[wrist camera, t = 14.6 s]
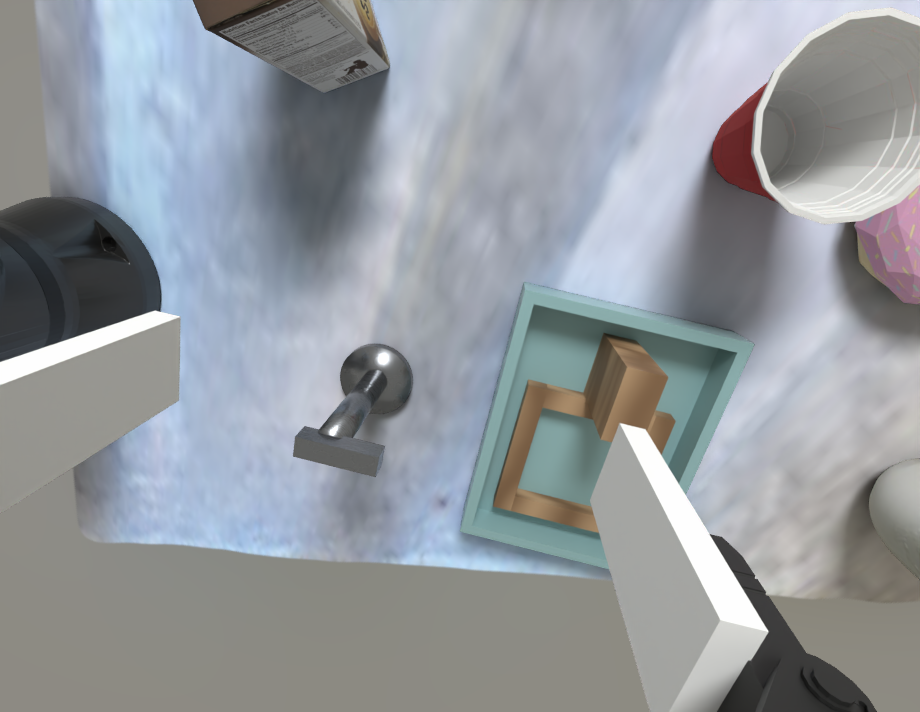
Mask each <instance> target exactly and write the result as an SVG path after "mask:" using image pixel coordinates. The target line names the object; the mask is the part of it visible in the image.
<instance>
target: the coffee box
mask: <svg viewBox="0 0 920 712" xmlns="http://www.w3.org/2000/svg"><path fill="white" fill-rule="evenodd" d="M193 2H194V4H195V7H196V9H197V12H198V14H199V16H200V19H201V21H202V23H203V26H204V28H205V29H206V30H208V31H210V32H212V33H214V34H216V35H218V36H220V37H222V38H223V39H225V40H227V41H229V42H231V43H233V44H234V45H236V46H238V47H240V48H242V49H244V50H246V51H247V52H249V53H251V54H253V55H255V56H257V57H258V58H260V59H262V60H264V61H266V62H268V63H270V64H271V65H273V66H275V67H277V68H279V69H281V70H282V71H284V72H286V73H288V74H290V75H291V76H293V77H295V78H297V79H299V80H300V81H302V82H304V83H306V84H308V85H310V86H311V87H313V88H315V89H317V90H319V91H321V92H322V93H326V92H328V91H331V90H334V89H336V88H339V87H342V86H344V85H347V84H350V83H352V82H355V81H357V80H360V79H363V78H365V77H368V76H371V75H373V74H376V73H378V72H381V71H383V70H386V69H388V68H389V67H390V62H389V58H388V55H387V51H386V48H385V45H384V42H383V38H382V35H381V32H380V29H379V25H378V22H377V19H376V16H375V13H374V9H373V6H372V3H371V0H193Z"/></svg>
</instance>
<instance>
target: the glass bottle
mask: <svg viewBox="0 0 920 712" xmlns="http://www.w3.org/2000/svg"><path fill="white" fill-rule="evenodd" d="M869 512H870V516H871V520H872V522H873V525H874V527H875V529H876V531H877V533H878V535H879V536H880V538H881V539H882V541H883V542H884V544H885V545H886V546H887V548H888V549H889V550H890V551H891V552H892V553H893V554H894V556H895V557H896V558H897V559H898V560H899V561H900V562H901V563H902V564H903V565H904V566H905V567H906V568H907V569H908V570H909V571H910V572H911V573H913V574H914V575H915V576H916V577H917V578H918V579H919V580H920V458H918V459H910V460H905V461H902V462H900V463H898V464H895V465H894V466H892V467H890V468H888V469H887V470H886V471H884V472H883V473H882V474H881V475H880V476H879V478H878V479H877V481H876V483H875V485H874V487H873V489H872V492H871V494H870V498H869Z"/></svg>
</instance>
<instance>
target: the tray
mask: <svg viewBox="0 0 920 712" xmlns="http://www.w3.org/2000/svg"><path fill="white" fill-rule="evenodd" d="M603 333H607V334H611V335H615V336H619V337H623V338H628V339H632V340H636V341H637V342H638V343H639V344H640V345H641V346H642V347H643V349H644V350H645V351H646V352H647V353H648V354H649V355H650V357H651V358H652V359H653V360H654V361H655V362H656V363H657V364H658V366H659V367H660V368H661V369H662V370H663V371H664V372H665V374H666V375H667V376H668V377H669V378H668V380H667V383H666V385H665V388H664V390H663V393H662V395H661V398H660V400H659V403H658V405H657V407H656V410H657V411H661V412H665V413H669V414H671V415H672V417H673V418H674V419H675V421H676V422H675V424H674V427H673V429H672V432H671V434H670V436H669V439H668V441H667V443H666V446H665V448H664V450H663V453H662V455H661V456H662V457H663V459H664V461H665V462H666V464H667V466H668V467H669V469H670V471H671V472H672V474H673V475H674V477H675V479H676V480H677V482H678V484H679V485H680V487H681V489H682V490H683V492H684V494H685V495H686V493H687V491H688V489H689V487H690V485H691V482H692V480H693V478H694V476H695V474H696V472H697V469H698V467H699V465H700V463H701V461H702V458H703V456H704V454H705V452H706V450H707V448H708V445H709V443H710V441H711V439H712V437H713V434H714V432H715V430H716V428H717V426H718V424H719V421H720V419H721V417H722V415H723V413H724V410H725V408H726V406H727V404H728V402H729V400H730V397H731V395H732V393H733V391H734V389H735V387H736V384H737V382H738V380H739V378H740V376H741V373H742V371H743V369H744V367H745V365H746V363H747V360H748V358H749V356H750V354H751V352H752V349H753V347H754V345H755V344H754V343H752V342H750V341H749V340H747V339H745V338H744V337H742V336H740V335H739V334H737V333H735V332H734V331H729V330H725V329H721V328H717V327H713V326H708V325H704V324H700V323H696V322H691V321H687V320H683V319H679V318H675V317H670V316H666V315H662V314H658V313H654V312H649V311H645V310H641V309H637V308H632V307H628V306H624V305H620V304H616V303H611V302H607V301H603V300H599V299H595V298H590V297H586V296H582V295H578V294H573V293H569V292H565V291H561V290H557V289H552V288H548V287H544V286H540V285H535V284H531V283H527V282H524V284H523V287H522V291H521V295H520V299H519V302H518V306H517V310H516V314H515V317H514V321H513V325H512V329H511V332H510V336H509V340H508V344H507V347H506V351H505V355H504V359H503V362H502V366H501V370H500V374H499V377H498V381H497V385H496V389H495V392H494V396H493V400H492V404H491V407H490V411H489V415H488V419H487V422H486V426H485V430H484V434H483V437H482V441H481V445H480V449H479V452H478V456H477V460H476V464H475V467H474V471H473V475H472V479H471V482H470V486H469V490H468V494H467V497H466V501H465V505H464V509H463V515H462V522H461V529H460V532H463V533H467V534H471V535H475V536H479V537H483V538H487V539H491V540H495V541H499V542H503V543H507V544H510V545H514V546H518V547H522V548H526V549H530V550H534V551H538V552H542V553H546V554H550V555H554V556H558V557H562V558H566V559H570V560H574V561H578V562H582V563H586V564H590V565H594V566H597V567H601V568H605V569H609V566H608V562H607V559H606V555H605V552H604V548H603V545H602V541H601V538H600V534H599V533H597V532H593V531H589V530H585V529H581V528H577V527H573V526H569V525H565V524H561V523H557V522H553V521H549V520H545V519H541V518H537V517H533V516H529V515H525V514H521V513H517V512H513V511H509V510H505V509H501V508H497V507H493V500H494V494H495V491H496V488H497V484H498V481H499V477H500V474H501V470H502V467H503V464H504V460H505V457H506V453H507V450H508V446H509V443H510V440H511V436H512V433H513V429H514V426H515V422H516V419H517V415H518V412H519V409H520V405H521V402H522V398H523V395H524V391H525V388H526V385H527V381H528V379H529V380H533V381H537V382H542V383H546V384H550V385H554V386H558V387H562V388H566V389H570V390H574V391H579V392H584V389H585V386H586V383H587V380H588V377H589V374H590V371H591V368H592V366H593V363H594V360H595V357H596V354H597V351H598V348H599V345H600V342H601V339H602V336H603ZM611 444H612V442H608V441H604V440H601V439H600V437H599V434H598V431H597V428H596V426H595V423H594V420H592V419H588V418H584V417H579V416H575V415H571V414H567V413H563V412H559V411H555V410H551V409H547V408H542V411H541V414H540V417H539V421H538V424H537V427H536V430H535V433H534V437H533V440H532V443H531V446H530V450H529V453H528V456H527V459H526V463H525V466H524V469H523V472H522V475H521V479H520V482H519V485H518V488H519V489H523V490H527V491H531V492H535V493H539V494H543V495H547V496H551V497H555V498H559V499H563V500H567V501H571V502H575V503H579V504H583V505H587V506H591V503H590V499H591V496H592V494H593V491H594V488H595V486H596V483H597V481H598V478H599V475H600V473H601V470H602V468H603V465H604V462H605V460H606V457H607V455H608V452H609V449H610V447H611ZM591 507H592V506H591Z"/></svg>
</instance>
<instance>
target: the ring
mask: <svg viewBox="0 0 920 712" xmlns="http://www.w3.org/2000/svg"><path fill="white" fill-rule="evenodd" d="M668 378H669V377H668V376H667V375H666V374H665V372H664V371H663V370H662V369H661V368H660V367H659V366H658V364H657V363H656V362H655V361H654V360H653V359H652V358H651V357H650V355H649V354H648V353H647V352H646V351H645V350H644V349H643V347H642V346H641V345H640V344H639V343H638V342H637V341H636V340H632V339H628V338H623V337H619V336H615V335H611V334H607V333H603V336H602V339H601V342H600V345H599V348H598V351H597V354H596V357H595V360H594V363H593V366H592V368H591V371H590V374H589V377H588V380H587V383H586V386H585V389H584V392H579V391H574V390H570V389H566V388H562V387H558V386H554V385H550V384H546V383H542V382H537V381H533V380H529V379H528V381H527V385H526V388H525V391H524V395H523V398H522V402H521V405H520V409H519V412H518V415H517V419H516V422H515V426H514V429H513V433H512V436H511V440H510V443H509V446H508V450H507V453H506V457H505V460H504V464H503V467H502V470H501V474H500V477H499V481H498V484H497V488H496V491H495V494H494V500H493V507H497V508H501V509H505V510H509V511H513V512H517V513H521V514H525V515H529V516H533V517H537V518H541V519H545V520H549V521H553V522H557V523H561V524H565V525H569V526H573V527H577V528H581V529H585V530H589V531H593V532H597V533H599V531H598V527H597V524H596V520H595V517H594V513H593V510H592V507H591V506H587V505H583V504H579V503H575V502H571V501H567V500H563V499H559V498H555V497H551V496H547V495H543V494H539V493H535V492H531V491H527V490H523V489H519V488H518V485H519V482H520V479H521V475H522V472H523V469H524V466H525V463H526V459H527V456H528V453H529V450H530V446H531V443H532V440H533V437H534V433H535V430H536V427H537V424H538V421H539V417H540V414H541V411H542V408H547V409H551V410H555V411H559V412H563V413H567V414H571V415H575V416H579V417H584V418H588V419H592V420H594V423H595V426H596V428H597V431H598V434H599V437H600V439H601V440H604V441H608V442H613V439H614V436H615V434H616V431H617V429H618V426H619V423H621V424H626V425H630V426H634V427H638V428H642V429H646V431H647V433H648V434H649V436H650V438H651V439H652V441H653V443H654V444H655V446H656V447H657V449H658V451H659V452H660V454H661V455H662V453H663V450H664V448H665V446H666V443H667V441H668V439H669V436H670V434H671V432H672V429H673V427H674V424H675V422H676V421H675V419H674V418H673V417H672V415H671V414H669V413H665V412H661V411H657V410H656V407H657V405H658V403H659V400H660V398H661V395H662V393H663V390H664V388H665V385H666V383H667V380H668Z"/></svg>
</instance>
